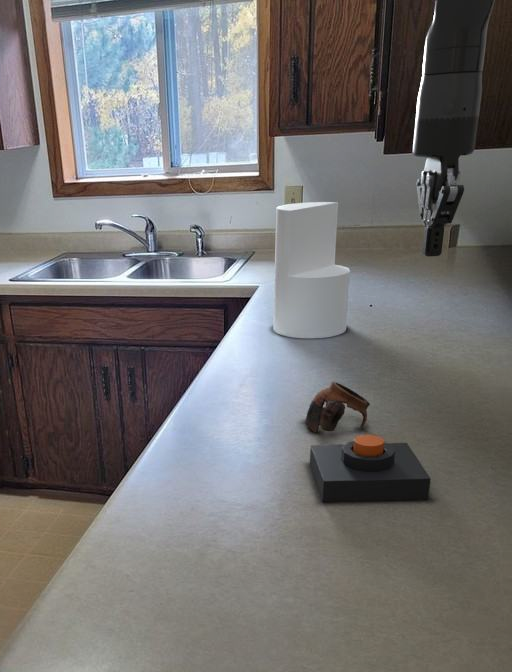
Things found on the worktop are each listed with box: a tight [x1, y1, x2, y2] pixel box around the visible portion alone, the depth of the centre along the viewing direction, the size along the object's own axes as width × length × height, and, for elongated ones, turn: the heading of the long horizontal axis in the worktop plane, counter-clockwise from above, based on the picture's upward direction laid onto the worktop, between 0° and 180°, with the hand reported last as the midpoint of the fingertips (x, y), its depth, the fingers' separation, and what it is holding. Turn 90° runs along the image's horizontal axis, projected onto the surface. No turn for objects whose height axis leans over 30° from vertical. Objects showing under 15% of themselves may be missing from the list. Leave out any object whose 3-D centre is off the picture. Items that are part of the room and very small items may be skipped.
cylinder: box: [273, 201, 351, 339], centre depth 173 cm, size 17×17×28 cm
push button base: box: [309, 440, 431, 503], centre depth 104 cm, size 14×12×5 cm
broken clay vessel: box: [304, 381, 371, 433], centre depth 121 cm, size 12×10×8 cm
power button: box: [353, 434, 385, 456], centre depth 102 cm, size 4×4×2 cm
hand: (431, 255), depth 101 cm, fingers closed
